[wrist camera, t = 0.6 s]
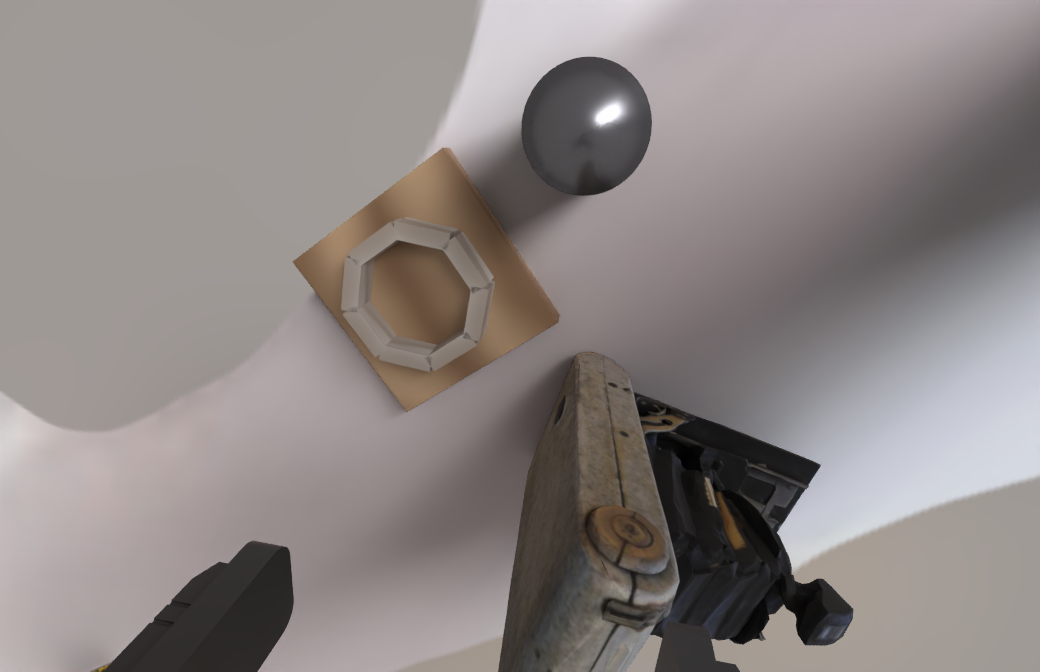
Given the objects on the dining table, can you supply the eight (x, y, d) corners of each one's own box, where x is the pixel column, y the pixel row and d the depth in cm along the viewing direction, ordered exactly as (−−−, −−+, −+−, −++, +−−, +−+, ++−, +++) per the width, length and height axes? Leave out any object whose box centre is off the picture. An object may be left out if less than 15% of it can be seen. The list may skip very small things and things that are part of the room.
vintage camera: (729, 535, 38) (889, 913, 19) (525, 462, 37) (478, 773, 18) (798, 421, 34) (1074, 740, 16) (575, 340, 34) (580, 566, 15)
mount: (449, 148, 31) (432, 147, 28) (559, 315, 33) (555, 332, 30) (304, 257, 34) (274, 268, 31) (414, 401, 37) (396, 426, 34)
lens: (604, 65, 29) (609, 22, 19) (652, 150, 30) (679, 148, 20) (524, 124, 30) (493, 110, 21) (573, 202, 31) (564, 223, 22)
